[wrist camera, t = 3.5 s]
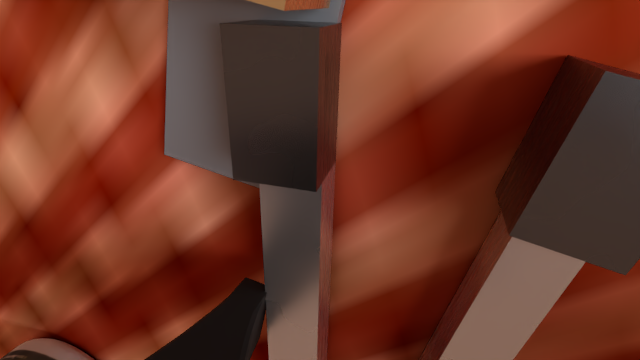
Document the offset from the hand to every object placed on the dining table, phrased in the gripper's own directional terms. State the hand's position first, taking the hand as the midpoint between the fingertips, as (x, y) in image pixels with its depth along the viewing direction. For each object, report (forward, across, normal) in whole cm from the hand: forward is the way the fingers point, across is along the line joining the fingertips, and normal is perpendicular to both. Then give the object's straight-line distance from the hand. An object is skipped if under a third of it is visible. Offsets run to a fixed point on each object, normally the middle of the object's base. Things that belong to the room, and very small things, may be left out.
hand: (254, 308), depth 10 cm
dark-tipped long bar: (+1, -5, +1) cm, 5 cm away
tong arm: (+1, -2, +1) cm, 2 cm away
